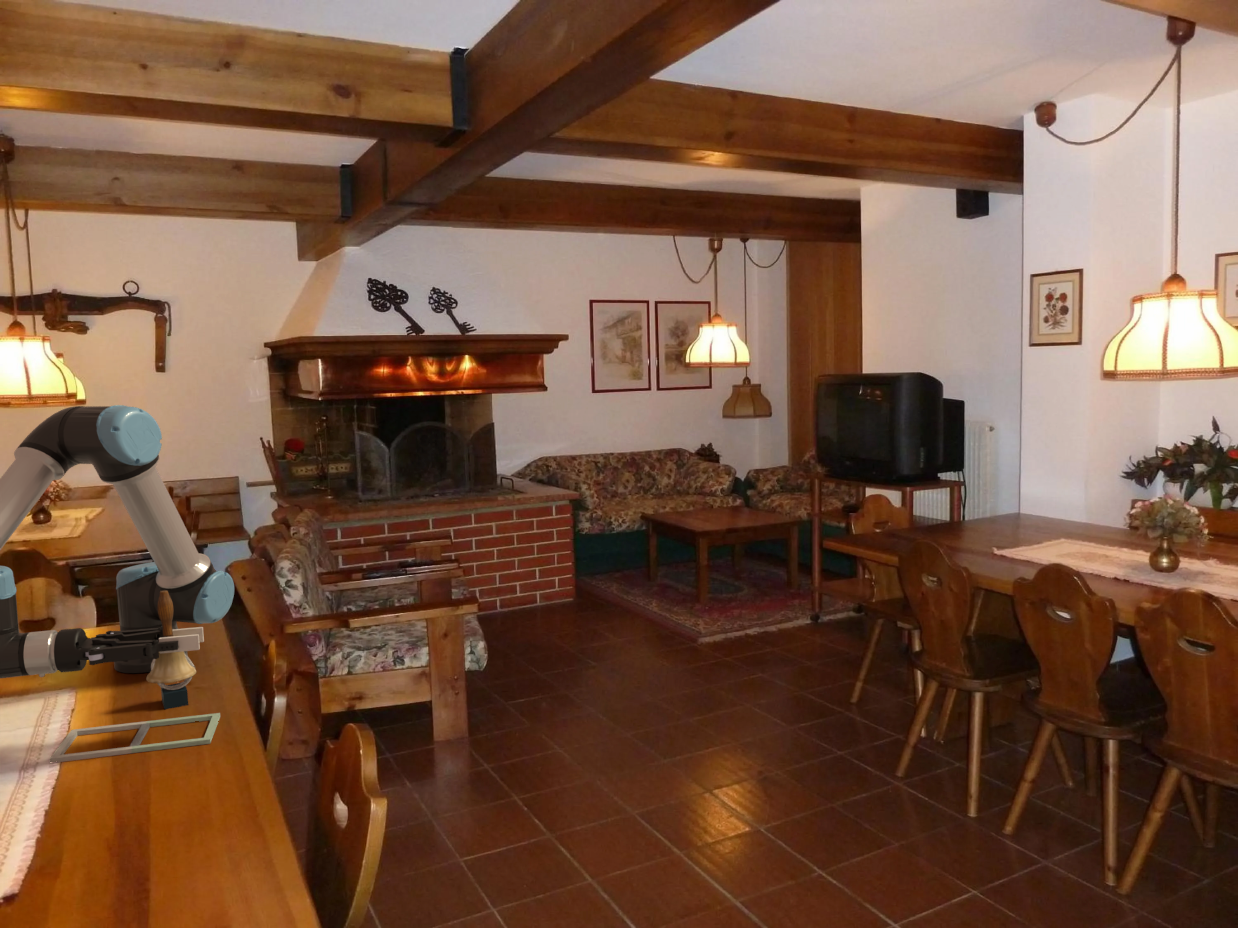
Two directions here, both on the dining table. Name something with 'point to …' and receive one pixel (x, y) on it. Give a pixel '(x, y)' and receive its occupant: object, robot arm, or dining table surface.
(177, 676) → the hand bell
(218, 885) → the dining table surface
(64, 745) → the window frame
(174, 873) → the dining table surface
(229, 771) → the dining table surface
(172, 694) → the watch
